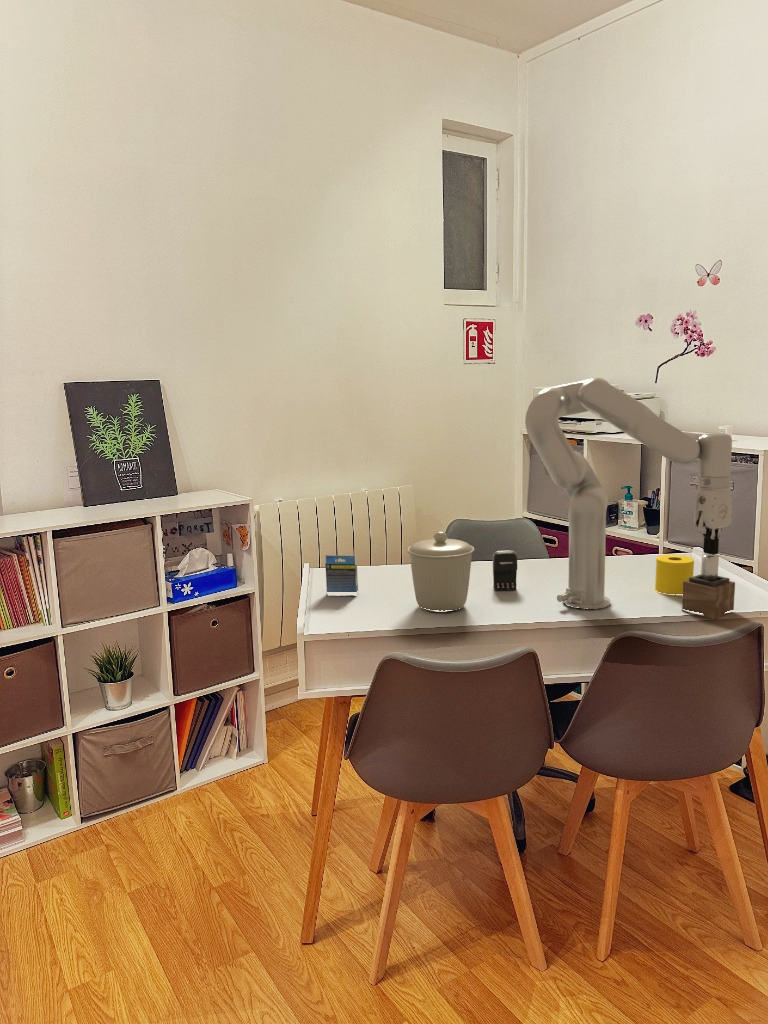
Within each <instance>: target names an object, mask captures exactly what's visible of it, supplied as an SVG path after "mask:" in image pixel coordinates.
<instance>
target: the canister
mask: <svg viewBox="0 0 768 1024" xmlns="http://www.w3.org/2000/svg"><path fill="white" fill-rule="evenodd" d="M406 552H407V554H409V559H410V568H411V574H412V582H413V583H412V584H413V588H414V589H413V590H414V596H415V600H416V603H417V605H418V607H420V608H421V607H422V608H426V609H430V610H439V611H441V610H443V611H445V610H455V609H459V608H461V607H462V608H463V607H464V606H465V604H466V603H467V600H468V595H469V594H468V593H469V584H470V578H471V577H470V576H471V568H472V567H471V566H472V558H473V557H472V555H473V553H474V552H475V547H474V546H473V545H471V544H470V543H468V542H467V541H464V540H459V539H455V538H448V535H447V533H446V532H445V531H437V532H435V533H434V535H433V538H431V539H422V540H420V541H417V542H415V543H412V545H409V546H408V548H407V549H406ZM422 608H421V609H422ZM462 608H461V609H462ZM459 610H460V609H459Z"/></svg>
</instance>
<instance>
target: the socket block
mask: <svg viewBox="0 0 768 1024" xmlns="http://www.w3.org/2000/svg"><path fill="white" fill-rule="evenodd" d="M735 591H736V582H735V581H731V580H730V578H729V577H724V576H719V575H718V580H717V581H713V582H711V581H707V580H702V579H701V573H700V574H698V575H693V577H690V578H689V580H686V581H683V596H682V600H681V601H682V605H681V606H682V608H681V610H682V609H685V610H689V611H694V612H699V613H703V614H704V618H707V619H712V620H715V619H718V618H721V617H724V616H725V615H724V613H725V612H727V611H730V610H734V609H735V608H734V607H735ZM734 611H735V610H734Z"/></svg>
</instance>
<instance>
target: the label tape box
mask: <svg viewBox="0 0 768 1024" xmlns="http://www.w3.org/2000/svg"><path fill="white" fill-rule="evenodd" d="M336 560H341V561H336ZM342 560H343V561H342ZM325 580H326V581H325V583H326V584H325V585H326V593H327V592H357V591H358V592H359V583H358V582H359V579H358V566H357V565H356V556H355V555H332V554H331V555H329V554H325Z"/></svg>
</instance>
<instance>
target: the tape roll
mask: <svg viewBox="0 0 768 1024" xmlns="http://www.w3.org/2000/svg"><path fill="white" fill-rule="evenodd" d="M694 565H695V560H694V558H693V557H692V556H691V557H690V556H687V555H681V554H662V555H659V556H656V558H655V585H654V591H655V590H657V591H658V592H661V593H666V594H675V595H676V594H683V581H686V580H689V578H690V577H694V570H695V569H694V568H695V566H694ZM658 592H657V593H658Z"/></svg>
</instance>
